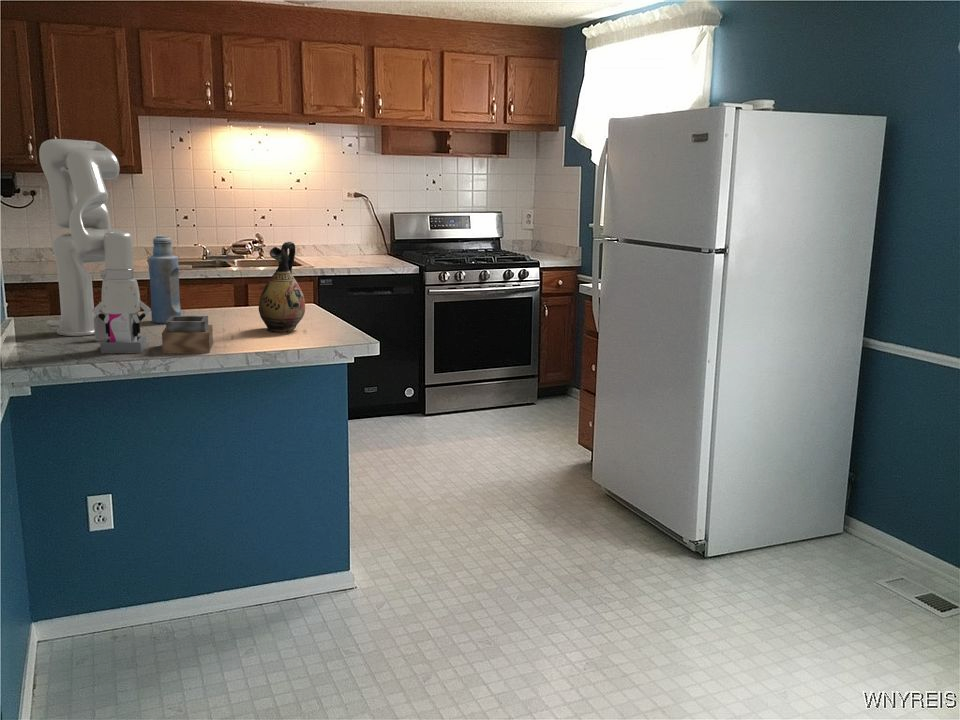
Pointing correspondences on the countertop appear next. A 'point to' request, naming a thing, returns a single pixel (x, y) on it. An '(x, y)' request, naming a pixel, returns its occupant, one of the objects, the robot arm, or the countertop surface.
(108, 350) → the low collar
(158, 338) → the countertop surface
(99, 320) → the power adapter
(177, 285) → the bottle
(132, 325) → the supplement box
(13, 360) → the countertop surface
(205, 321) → the raised dock
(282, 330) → the ceramic jug
